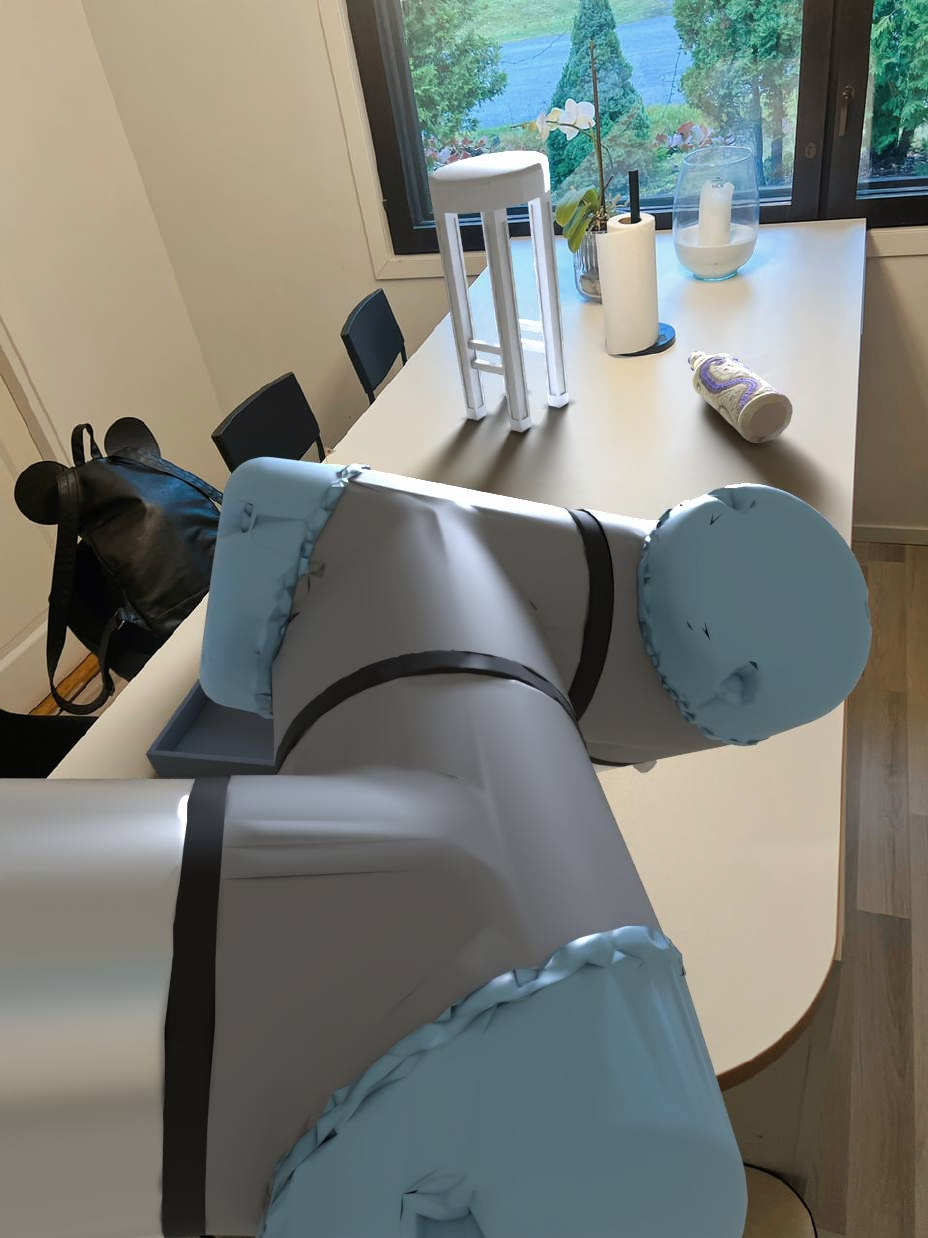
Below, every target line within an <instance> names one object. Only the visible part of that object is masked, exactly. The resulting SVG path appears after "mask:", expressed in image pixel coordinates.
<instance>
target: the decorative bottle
mask: <svg viewBox="0 0 928 1238" xmlns="http://www.w3.org/2000/svg"><path fill="white" fill-rule="evenodd" d="M687 362H688V364H689V365H690V370H691V371H693V376H692V386H693V389H694V391H695V393H696V394H698V396H700V397H701V398H702V399H703V400H704V401H705V402H707V404H709V405H710V406H711V407H712V408H713V409H714V410H715V411H716V412H717V413H719V415H720V416H721V417H722V418H723V419H724V420H725V421H726V422H727V423H728V424H730V425H731V426H732V427H733V428H734V429H735V430H736V431H737V433H739V435H740V436H741V437H742V438H743V439H745V440H746V441H748V442H751V443H753V444H763V443H766V442H768V441H772V440H774V439H775V438H777V437H778V436H780V435H781V434H782V433H783V432H784V431H785V430H787V428H788V427H789V425H790V423H791V420H792V416H793V411H794V410H793V405H792V402H791V400H790V399H789V397H788V396H786V395H785V394H783V393H780V392H779V391H778V390H777V389H776V388H774V387H773V386H772V385H770V384H769V383H768V381H766V380H764V379H763V378H762V377H760V376H759V375H758V374H757V373H755V372H754V371H753V370H752V369H751V368H749V367H748V366H746V365H745V364H743V363H742V362H741V361H740V360H739V359H738V358H736V357H735V356H732V355H731V354H728V353H717V354H713V355H707V354H706V353H705V352H702V351H699V350H697V351H694V352H692V353H691V354H690V356H689V357H688V358H687Z"/></svg>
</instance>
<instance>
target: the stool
mask: <svg viewBox="0 0 928 1238" xmlns="http://www.w3.org/2000/svg"><path fill="white" fill-rule="evenodd" d="M549 170H550V169H549V159H548V156H546V155H545V154H543V153H540V152H537V151H535V150H509V151H502V152H493V153H486V154H481V155H477V156H473V157H468V158H463V159H460V160H457V161H454V162H451V163H448V164H445V165H443V166H440V167H438V168H437V169H436V170H435V171H433V172H432V173H431V174H430V175H429V176H428V178H427V179H428V180H427V181H428V182H427V183H428V189H429V194H430V200H431V205H432V213H433V218H434V219H433V220H434V224H435V231H436V237H437V243H438V249H439V256H440V261H441V267H442V272H443V279H444V285H445V286H444V287H445V292H446V296H447V297H446V298H447V302H448V309H449V315H450V321H451V322H450V323H451V327H452V333H453V338H454V344H455V352H456V358H457V363H458V369H459V376H460V381H461V382H460V383H461V387H462V393H463V399H464V406H465V412H466V418H467V419H470V420H474V421H479V420H481V419H483V418H484V417H486V416H487V415H488V409H487V402H486V397H485V391H484V390H485V389H484V384H483V377H482V372H486V373H490V374H495V375H499V376H502V381H503V387H504V395H505V396H506V404H507V410H508V411H507V412H508V418H509V425H510V430H511V431H515V432H519V433H523V432H525V431H526V430H528V429H530V428H531V427H532V426H533V425H532V415H531V407H530V401H529V391H528V383H527V374H526V366H525V365H526V364H525V358H524V357H525V356H524V350H525V351H530V352H536V353H540V354H542V355H543V363H544V371H545V372H544V373H545V382H546V391H547V402H548V406H550V407H554V408H558V409H560V408H563V406H565V405H566V404H568V403H569V402H570V396H569V386H568V374H567V364H566V351H565V341H564V328H563V317H562V307H561V295H560V286H559V285H560V282H559V273H558V261H557V249H556V238H555V227H554V226H555V225H554V213H553V204H552V203H553V202H552V194H551V193H552V192H551V182H550V181H551V180H550V171H549ZM524 204H527V208H528V214H529V215H528V217H529V228H530V236H531V237H530V238H531V245H532V246H531V247H532V256H533V265H534V266H533V267H534V274H535V285H536V294H537V303H538V313H539V321H534V320H529V319H521V318H520V316H519V315H520V314H519V308H518V307H519V306H518V299H517V290H516V281H515V272H514V264H513V256H512V247H511V240H510V230H509V222H508V214H507V213H508V212H507V208H512V207H516V206H519V205H520V206H521V205H524ZM477 213H480V217H481V226H482V233H483V240H484V247H485V253H486V256H485V257H486V261H487V262H486V263H487V269H488V277H489V285H490V293H491V300H492V306H493V307H492V308H493V314H494V315H493V316H494V321H495V330H496V335H497V336H496V337H497V343H496V342H492V341H491V342H490V341H485V340H480V339H477V337H476V331H475V323H474V317H473V310H472V303H471V296H470V290H469V282H468V275H467V269H466V262H465V257H464V249H463V245H462V243H463V242H462V237H461V230H460V229H461V228H460V223H459V217H458V215H468V214H477ZM521 331H528V332H533V333H538V334H540V335H541V341H536V340H532V339H531V340H530V339H525V338H522V333H521ZM479 352H483V353H488V354H492V355H498V356H499V359H500V363H497V362H491V361H487V360H483V359H480V357H479V356H480V355H479Z"/></svg>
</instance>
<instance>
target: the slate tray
mask: <svg viewBox="0 0 928 1238" xmlns="http://www.w3.org/2000/svg"><path fill="white" fill-rule="evenodd" d="M145 757H146V758H147V760H148V762H149V764H150V765H151V767H152V769H153V771H154V772H155V775H156V777H157V778H158V779H196V777H197V776H229V777H230V778H231V776H232V775H273V771H274V720H273V719H265V718H263V717H262V716H260V715H259V714H258V713H254V712H250V711H245V710H240V709H236V708H231V707H227V706H223V705H220V704H218V703H215V702H214V701H213V700H212V699H210V698H209V697H208V696H207V695H206V694H205V692H204V690H203V689H202V687H201V684H200V680H199V677H198V679H196V681H195V683H194V684H193V686H192V687H191V688H190V689H189V691H188V692H187V694H186V696H185V697H184V698H183V699H182V700H181V702H180V704H179V706H177V709H175V711H174V713H173V714H172V715H171V717H170V719H169V720H168V721H167V723H166V724H165V726H163V728H162V730H160V732H159V734H158V736H157V737H156V738H155V740H154V741H153V742H152V744H151V746H150V747H149V748H148V749H147V751H146V752H145Z"/></svg>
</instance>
